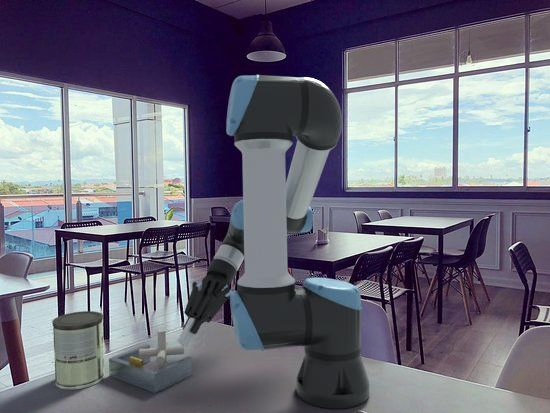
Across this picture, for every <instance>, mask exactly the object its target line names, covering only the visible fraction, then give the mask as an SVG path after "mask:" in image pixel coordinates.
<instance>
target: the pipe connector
mask: <svg viewBox="0 0 550 413" xmlns="http://www.w3.org/2000/svg"><path fill="white" fill-rule="evenodd" d="M166 332H167V331H166V329H163V328H161V329H158V330H157V334H156V335H157V347H152V348H151V347H150V349H139V357H150V358H151V357H156V359H155V362H156V364H157V365H158V366H157V367H158V369H157V370H159V369H161V368H164V367H166V366H168V365H167V356H176V355H178V356H179V355H185V346H182V345H181V346H180V345H179V346H168V344H169V343H168V342H167V339H166V338H167V336H166V334H167V333H166Z"/></svg>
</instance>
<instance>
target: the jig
mask: <svg viewBox="0 0 550 413" xmlns="http://www.w3.org/2000/svg"><path fill="white" fill-rule="evenodd" d="M150 348H151V345H150V344H144V345H141V346H139V347H136V348H133V349H131V350H128V351H125V352H122V353H120V354H118V355H114V356H112V357H110V358H108V369H109V374H108V376H109V377H111V378H113V379H116V380H119V381H121V382H124V383H128V384H130V385H132V386H135V387H137V388H139V389H143V390H145V391H147V392H150V393H153V394H156V393H159V392H161V391H163V390H165V389H167V388H169V387H171V386H173V385H175V384H177V383H179V382H182V381H183V380H185V379H187V378H189V377H190V376H193V369H192V368H193V366H192V365H193V363H192V362H193V361H192V360H193V358H192V357H190V356H186V357H184V358H182V359H180V360H179V359H178V360H177V361H175V362H173V363H171V364H168V365H167V366H166V367H164V368H161V369H159V370H158V369H157V370H153V369H150V368H147V367H144V364H147V363H149V362H151V357H139V349H150Z"/></svg>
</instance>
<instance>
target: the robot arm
mask: <svg viewBox="0 0 550 413" xmlns="http://www.w3.org/2000/svg"><path fill="white" fill-rule="evenodd" d="M226 113H227V114H226V121H225V122H226V127H225V128H226V130H225V131H226V135H228V136H230V137H233V136H234V142H233V143H234V146H235V147H236V148H237V149H238V150H239V151H240V152H241V156H242V158H241V159H242V199H241V200H240V201H237V202H236V203H235V204H234V206H233V208H232V210H231V212H230V213H231V214H230V221H229V225H228V230H227V233H226V236H225V238H224V239H223V241H222V243H221V245H220V246H219V248H218V250H217V251H216V253H215V255H214V256H213V259H212V260H211V262H210V263H209V266H208V267H207V269H206V275H205V276H204V277H203V278H202V280H201V281H199V282H196V281H194V282H192V287H191V288H192V289H191V292H190V294H189V298H188V301H187V303H186V306H185V309H184V311H183V313H184V314H185V315H186V317H187V319H186V321H185V322H184V324H183V326H182V331H181V333H180V335H179V337H178V339H177V342H178V344H180V345H181V346H184V348H188V346H189V345H190V343H191V342H192V339H193V337H194V336H195V335H197V333H198V332H199V329H200V328H201V326H202V325H203V324H204V323H211V321H212V320H213V319H214V317H215V316H216V315H217V314H218V312H219V311H220V309H221V308H223V306H224V305H225V303H226V302H227V301H228V300H229V304H230V314H231V319H232V324H233V329H234V333H235V334H234V335H235V338H236V341H237V343H238V345H239V347H240V348H241V349H242V350H245V351H262V352H264V351H265V350H275V349H276V350H277V349H287V348H297V347H298V348H299V347H304V355H303V357H302V361H301V364H300V366H299V370H298V373H297V376H296V381H295V382H296V383H295V386H296V388H295V389H296V394H297V396H298V397H299V398H300V399H301V400H303V401H304V402H306V403H308V404H310V405H313V406H316V407H320V408H326V409H336V410H338V409H348V408H353V407H357V406H359V405H361V404H363V403H365V402H366V401H367V400H368V399H369V398H370V380H369V378H368V374H367V371H366V368H365V365H364V362H363V359H362V355H361V354H362V348H361V347H362V311H363V307H362V302H361V292H360V290H359V288H358V287H357V286H356V285H354V284H352V283H350V282H347V281H344V280H339V279H336V278H335V279H333V278H328V277H308V278H305V279H304V281H303V283H302V287H301V286H300V287H296V278H295V277H293V276H292V275H291V274H290V273H289V272H288V270H289V269H288V240H287V239H288V234H300V233H309V232H310V231H311V230H312V228H313V226H314V225H313V223H314V213H313V209H312V207H311V206H310V205H311V203H312V200H313V197H314V194H315V192H316V189H317V187H318V184H319V182H320V178H321V177H322V176H321V175H322V173H323V170H324V168H325V164H326V162H327V159H328V156H329V153H330V151H331V150H333V149H334V148H335V147H337V144H338V142H339V140H340V136H341V134H342V129H343V115H342V110H341V105H340V103H339V101H338V99H337V98H336V96H335V94H334V93H333V91H332V90H331V89H330V88H329V87H328V86H327V85H326V84H325V83H323V82H322V81H320V80H318V79H315V78H313V77H306V76H305V77H304V76H301V77H295V76H282V75H262V74H256V75H239V76H237V77H235V79H234V80H233V82H232V85H231V89H230V93H229V97H228V105H227V112H226ZM293 137H295V138H296V140H297V141H296V145H295V150H294V153H293V156H292V160H291V163H290V166H289V171H288V174H287V175H286V171H287V170H286V153H287V151H288V150H289V149H290V148H291V146H292V145H293V143H294V142H293V139H294V138H293ZM243 262H244V272H243V275H242V276H241V277H240V278H239V279H238V280H237V282H236V284H237V286H236V287H237V289H236V290H233V291H232V289H231V288H229V287H230V284H232V283H233V281H234V279H235V277H236V275H237V271H238V272H239V268H240V267H241V265H242V263H243Z"/></svg>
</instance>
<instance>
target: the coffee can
mask: <svg viewBox="0 0 550 413" xmlns="http://www.w3.org/2000/svg"><path fill="white" fill-rule="evenodd" d="M103 320H104V314H103V313H102V312H99V311H93V310H92V311H91V310H88V311H86V310H85V311H83V310H82V311H75V312H69V313H66V314H65V313H64V314H62V315H59V316H57V317H55V318H53V320H52V322H51V323H52V326H53V328H52V329H53V330H52V331H53V332H52V333H53V351H54V352H53V354H54V371H55V372H54V376H55V384H54V385H55V386H56V388H59V389H60V390H67V391H68V390H70V391H71V390H72V391H73V390H81V389H86V388H89V387H92V386H94V385H97V384H99V383H100V382H102V381H103V380H104V379H105V375H106V374H105V357H104V354H105V353H104V351H105V350H104V324H103Z"/></svg>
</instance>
